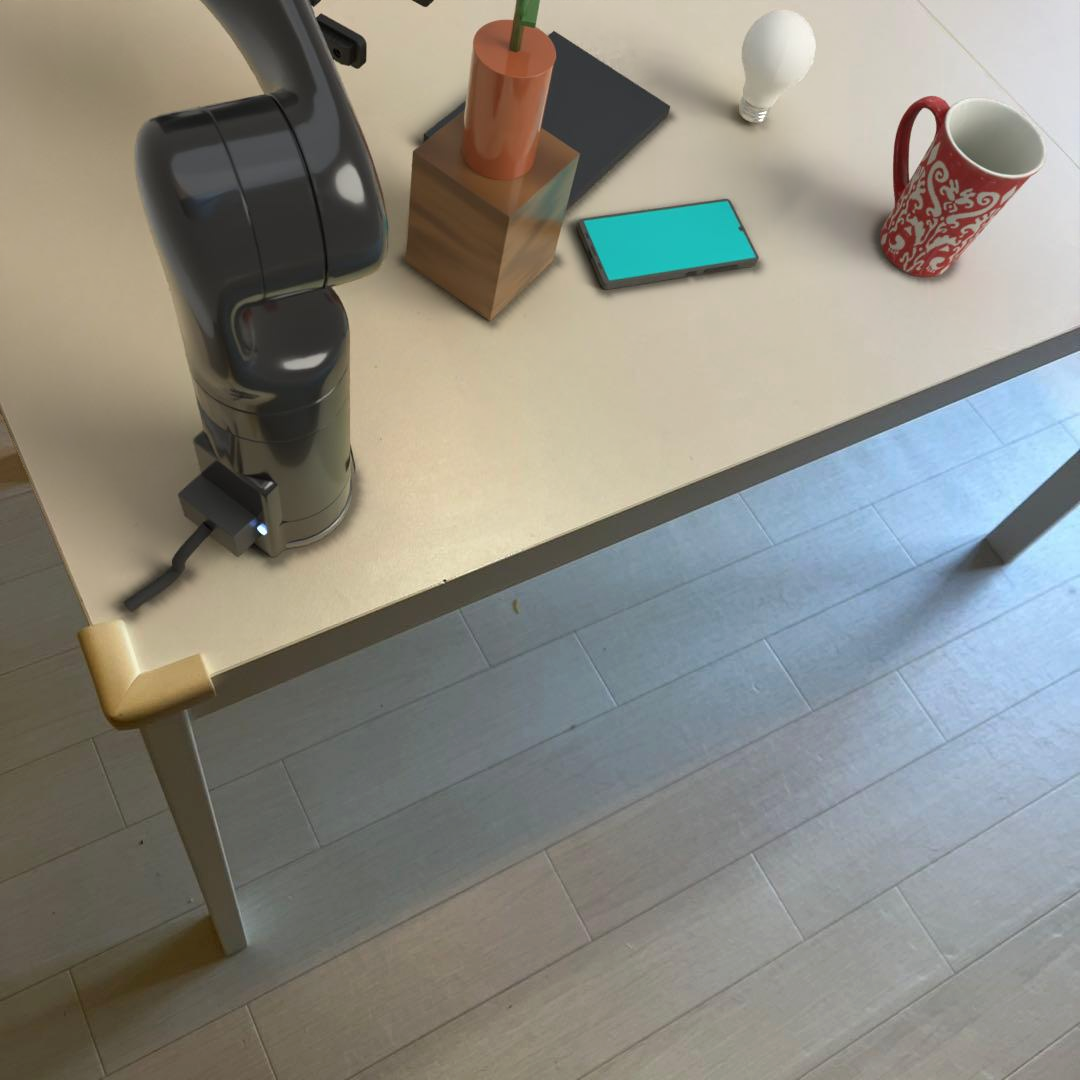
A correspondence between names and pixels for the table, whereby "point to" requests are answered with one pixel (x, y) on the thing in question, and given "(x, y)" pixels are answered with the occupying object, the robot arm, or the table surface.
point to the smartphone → (666, 243)
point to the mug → (956, 180)
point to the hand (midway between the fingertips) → (399, 23)
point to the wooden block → (485, 219)
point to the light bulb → (774, 60)
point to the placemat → (591, 113)
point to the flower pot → (507, 94)
